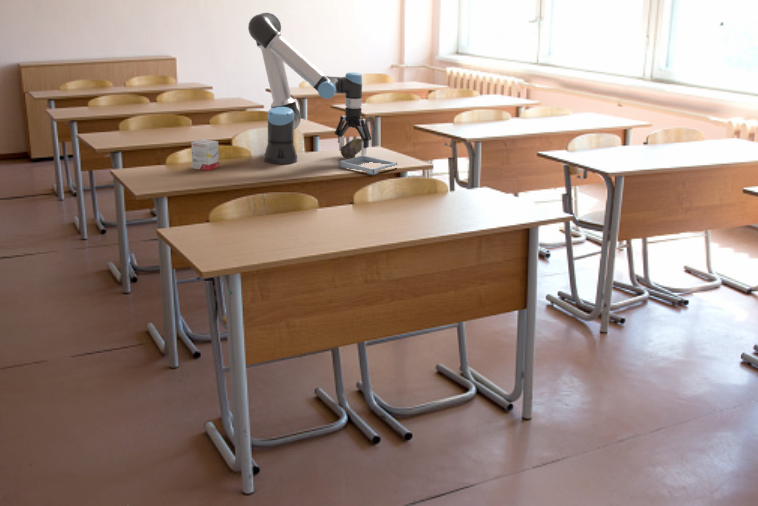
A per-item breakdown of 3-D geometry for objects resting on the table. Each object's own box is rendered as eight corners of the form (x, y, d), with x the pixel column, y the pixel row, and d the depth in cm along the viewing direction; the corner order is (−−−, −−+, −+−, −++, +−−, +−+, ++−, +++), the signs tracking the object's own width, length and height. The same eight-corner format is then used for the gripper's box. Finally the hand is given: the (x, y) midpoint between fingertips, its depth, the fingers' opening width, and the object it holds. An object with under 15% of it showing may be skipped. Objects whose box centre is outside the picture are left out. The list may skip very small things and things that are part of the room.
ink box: (219, 167, 366) (219, 140, 362) (207, 171, 359) (207, 144, 355) (203, 164, 369) (202, 138, 365) (191, 168, 362) (190, 141, 358)
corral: (338, 167, 375) (338, 161, 375) (363, 161, 389) (363, 155, 388) (372, 175, 364) (372, 169, 363) (396, 168, 377) (397, 162, 377)
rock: (361, 156, 398) (362, 135, 395) (364, 160, 389) (365, 139, 386) (339, 155, 397) (340, 135, 393) (341, 160, 388) (341, 139, 384)
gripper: (327, 104, 389) (327, 149, 396) (369, 111, 375) (368, 157, 382) (338, 103, 395) (337, 147, 402) (379, 109, 381) (378, 155, 388)
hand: (352, 152), depth 392 cm, fingers open, 13 cm apart
